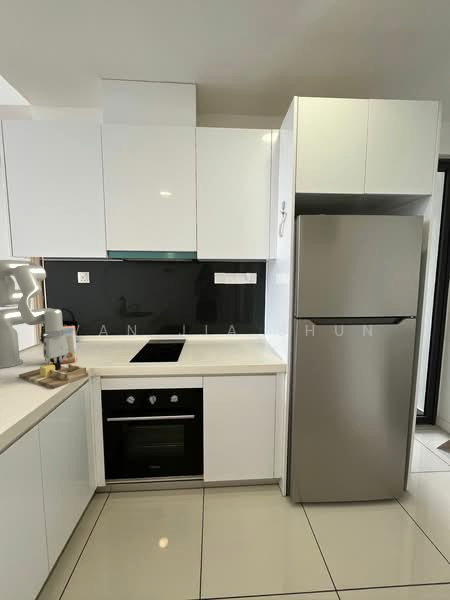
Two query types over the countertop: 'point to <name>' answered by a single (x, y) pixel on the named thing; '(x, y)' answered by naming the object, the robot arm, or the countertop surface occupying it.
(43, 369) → the cube
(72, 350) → the cracker box
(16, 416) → the countertop surface
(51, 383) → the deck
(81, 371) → the cubby
